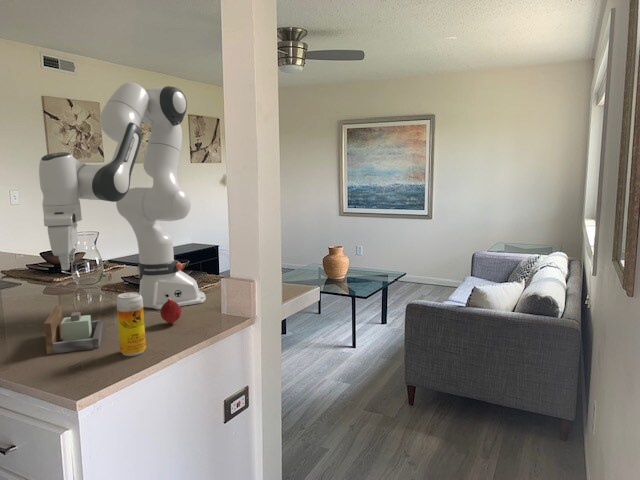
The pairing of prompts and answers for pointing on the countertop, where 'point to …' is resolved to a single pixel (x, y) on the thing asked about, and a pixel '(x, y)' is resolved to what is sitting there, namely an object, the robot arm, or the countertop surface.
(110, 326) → the countertop surface
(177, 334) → the countertop surface
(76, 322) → the cabinet block
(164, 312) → the onion
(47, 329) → the grey and wood frame
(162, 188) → the robot arm
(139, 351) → the beer can
